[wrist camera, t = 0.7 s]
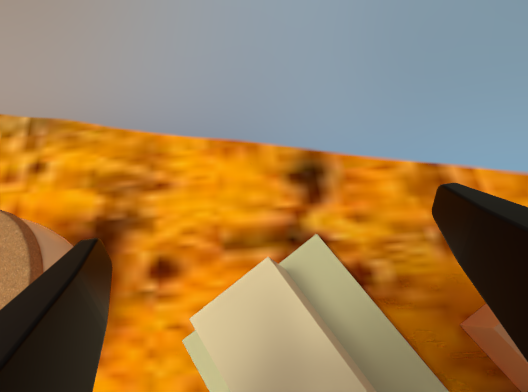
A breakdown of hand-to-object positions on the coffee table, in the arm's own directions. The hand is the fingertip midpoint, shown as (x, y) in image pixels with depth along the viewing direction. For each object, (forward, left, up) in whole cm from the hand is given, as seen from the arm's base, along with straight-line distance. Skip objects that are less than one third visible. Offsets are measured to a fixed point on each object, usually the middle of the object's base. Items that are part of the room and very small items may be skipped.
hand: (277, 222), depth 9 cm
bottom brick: (-3, +4, -13) cm, 14 cm away
